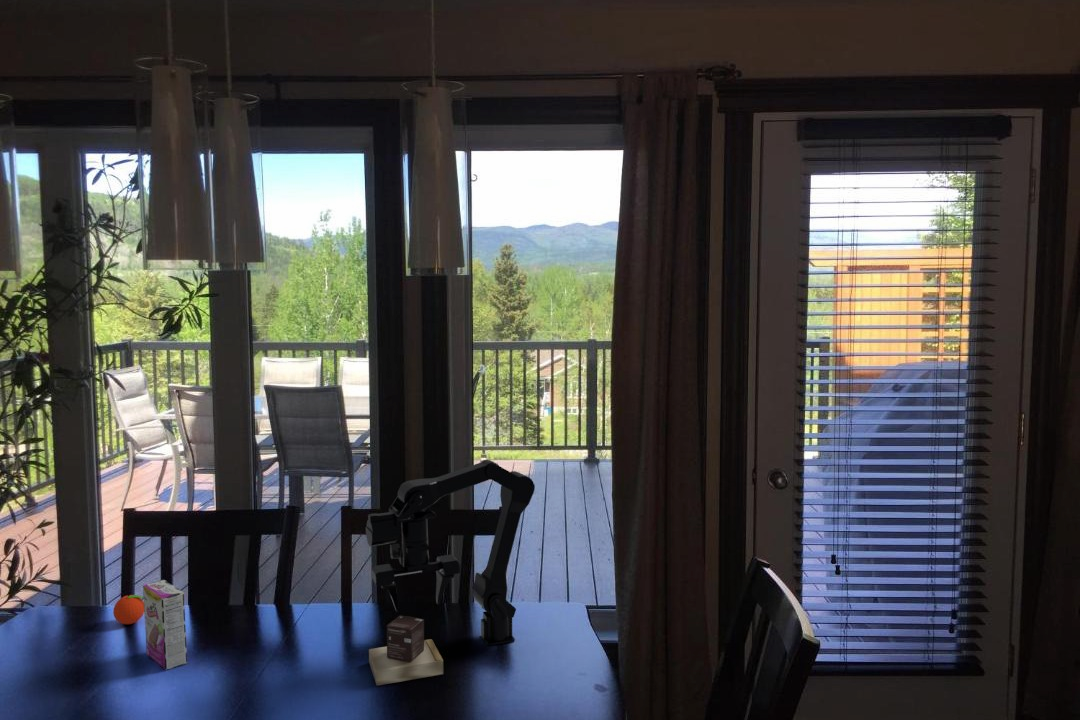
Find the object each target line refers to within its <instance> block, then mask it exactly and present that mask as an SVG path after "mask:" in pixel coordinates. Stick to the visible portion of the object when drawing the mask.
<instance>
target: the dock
mask: <svg viewBox="0 0 1080 720" xmlns="http://www.w3.org/2000/svg"><path fill="white" fill-rule="evenodd" d="M368 663H369V666H370V669H371V672H372V673H371V674H372V676H373V678H374V682H375V685H376V686H382V685H388V684H393V683H395V684H396V683H400V682H406V681H412V680H417V679H423V678H428V677H429V678H430V677H434V676H440V675H444V659H443V657H442V655H441V653H440V652H439V649H438V648H437V647H436V645H435V643H434V640H433V639H431V638H430V639H424V651H423V652H422V653H421V654H420V655H419V656H417V657H416V658H415V659H414V660H413V661H412V662H407V661H400V660H395V659H390V658H387V646H381V647H375V648H369V649H368Z"/></svg>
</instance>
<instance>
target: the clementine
mask: <svg viewBox="0 0 1080 720" xmlns="http://www.w3.org/2000/svg"><path fill="white" fill-rule="evenodd" d="M112 612H113V617H114V619H115V621H117V622H118V623H119V624H123V625H132V624H135V623H137V622H138V621H139V620H141V618H142V617H143V616H144V615H145V614H144V597H143V596H142V595H137V594H128V595H124V596H123V597H121V598H119V599H118V601H116V603H115V604H114V606H113V611H112Z"/></svg>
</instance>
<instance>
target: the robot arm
mask: <svg viewBox="0 0 1080 720" xmlns="http://www.w3.org/2000/svg"><path fill="white" fill-rule="evenodd" d="M488 481H493V482H495V483H497V484H498V485H500V491H499V492H500V502H501V509H500V513H499V517H498V518H499V519H498V522H497V526H496V529H495V533H494V536H493V540H492V546H491V548H490V553H489V557H488V560H487V565H486V567H485V568H484V570H483V571H482V572H481V573H480V572H476V573H475V575H474V582H473V584H472V586H471V590H472V596H473V599H474V600H475V601H476V603H477V604H478V605H480V607H481V609H482V610H485V611H483V612H482V618H481V619H480V636H481V638H482V639H483V640H484V641H485V643H486V644H487V646H494V645H500V644H507V643H513V642H515V641H516V639H515V637H514V636H513V618H514V617H515V616H516V615H515V614H516V610H517V608H516V607H515V606H514V605H512V603H510V602H509V601H508V600H507V596H508V595H507V594H508V583H507V570H508V566H509V563H510V558H511V554H512V551H513V546H514V543H515V539H516V535H517V531H518V527H519V523H520V519H521V516H522V513H523V512H524V511H525V510H526V508H528V506H529V505H530V502H531V500H532V498H533V495H534V493H535V491H536V490H535V487H536V486H535V483H534V481H533V479H532V478H531V477H529V476H527V475H526V474H525V475H524V474H523V473H520V471H519V472H518V471H515V470H512V471H509V470H507V469H505V468H503V467H502V466H500V465H499V464H498V463H497V462H495V461H492V460H491V459H484V460H481V462H478V463H475V464H472V465H469V466H466V467H464V468H460V469H458V470H454V471H452V472H449V473H446V474H442V475H440V476H437V477H431V478H418V479H410V480H407V481H404V482H403V483H401V484H400V487H399V489H398V490H397V496H396V498H395V499H394V500H393V502H392V504H391V505H390V507H389V508H388V511H387V512H380V513H375V512H374V513H368V515H367V517H368V519H367V521H366V526H365V536H366V541H367V544H368V547H375V546H383V545H388V544H390V545H389V555H390V559H391V560H393V559H398V562H399V564H400V565H402V566H400V567H392V566H391V564H390V563H385V564H378V565H374V566H373V567H372V568H371V578H372V580H373V583H374V585H375V586H376V587H381V589H383V590H386V589H387V591H388V593H389V596H390V598H391V600H392V601H391V602H392V603H393V606H394V609H395V611H396V612H399V598H398V591H397V585H396V583H395V581H396V580H395V578H399V577H404V576H405V577H406V576H410V575H411V576H413V575H417V574H418V575H419V574H423V573H431V572H435V573H436V574H435V575H436V585H435V586H436V587H435V602H436V604H437V605H440V603H441V600H442V598H443V595H444V592H445V590H446V589H447V586H448V584H449V583H450V581H451V579H453V578H455V575H457V574H460V573H461V564H460V562H459V560H458V559H457V558H456V557H455V556H454V555H453V554H445V555H440V556H439V555H438V556H437V557H436V561H434V562H430V555H429V550H430V545H429V531H428V530H429V528H428V519H434V518H435V519H436V518H437V517H438V516H437V514H436V512H434V511H433V510H432V509H431V508H430V507H431V506H433V505H434V504H435V503H437V502H438V501H439V500H440V499H441V498H443V497H445V496H448V495H451V494H453V493H457V492H458V491H461V490H465V489H467V488H470V487H473V486H475V485H476V486H477V485H479V484H481V483H484V482H488ZM400 537H401V547H400V544H399V543H397V542H398V541H399V540H400Z"/></svg>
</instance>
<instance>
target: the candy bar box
mask: <svg viewBox="0 0 1080 720" xmlns="http://www.w3.org/2000/svg"><path fill="white" fill-rule="evenodd" d="M142 591H143V593H142V595H143V596H142V597H144V599H143V602H144V614H143V615H144V625H145V626H144V630H145V646H146V647H145V648H146V656H148V657H149V656H150V657H151V658H150V657H149V658H150V659H151V660H153V661H154V662H155V663H156V662H157V663H156V664H157V665H159V666H162V667H161V668H163V669H164V671H168V670H167V669H170V670H172V669H171V668H173V669H175V668H177V666H178V667H180V666H183V665H186V664H188V651H187V647H188V646H187V632H186V631H187V630H186V629H187V627H186V610H185V609H186V608H185V607H186V606H185V592H184V591H183V590H181V589H179V588H177V587H176V586H174V585H173V584H171V583H169V582H168V580H165V579H161V580H158V581H153V582H151V583H146V584H143V585H142ZM174 667H175V668H174Z"/></svg>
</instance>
